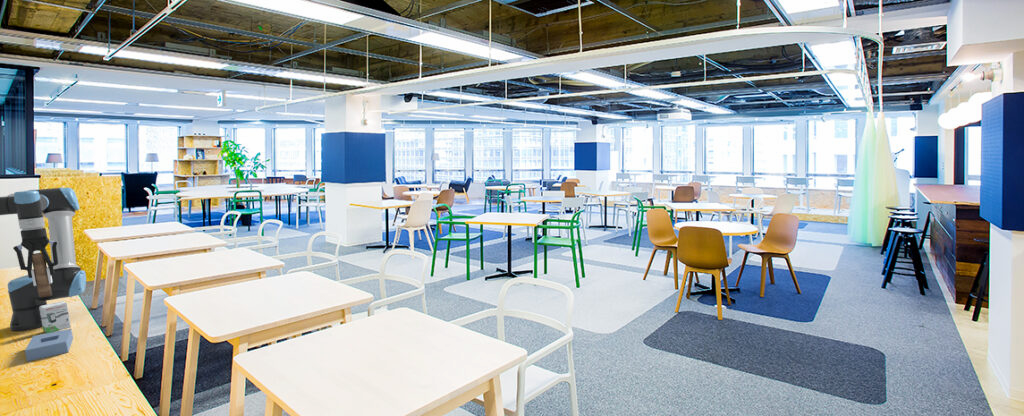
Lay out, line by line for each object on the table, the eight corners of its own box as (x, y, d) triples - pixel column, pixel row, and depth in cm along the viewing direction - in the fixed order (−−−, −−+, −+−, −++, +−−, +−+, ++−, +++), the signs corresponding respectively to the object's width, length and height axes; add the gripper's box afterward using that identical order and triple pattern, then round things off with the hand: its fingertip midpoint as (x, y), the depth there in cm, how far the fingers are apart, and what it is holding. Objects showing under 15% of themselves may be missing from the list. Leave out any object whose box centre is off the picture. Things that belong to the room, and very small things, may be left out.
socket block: (34, 346, 206) (32, 336, 206) (73, 338, 213) (71, 328, 212) (26, 361, 192) (24, 350, 191) (68, 352, 199) (66, 341, 198)
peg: (39, 295, 208) (31, 253, 205) (52, 293, 210) (45, 252, 208) (38, 298, 205) (30, 255, 202) (51, 295, 207) (43, 253, 205)
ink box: (46, 333, 220) (41, 308, 218) (43, 331, 223) (38, 306, 221) (71, 326, 227) (67, 302, 226) (67, 325, 230) (63, 300, 228)
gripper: (1, 232, 196) (12, 290, 199) (59, 226, 206) (69, 281, 209) (6, 230, 202) (16, 286, 205) (61, 224, 212) (71, 278, 215)
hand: (43, 283), depth 207 cm, fingers closed on peg, 4 cm apart
